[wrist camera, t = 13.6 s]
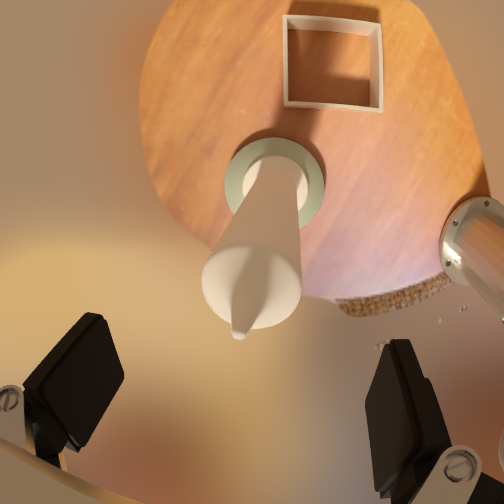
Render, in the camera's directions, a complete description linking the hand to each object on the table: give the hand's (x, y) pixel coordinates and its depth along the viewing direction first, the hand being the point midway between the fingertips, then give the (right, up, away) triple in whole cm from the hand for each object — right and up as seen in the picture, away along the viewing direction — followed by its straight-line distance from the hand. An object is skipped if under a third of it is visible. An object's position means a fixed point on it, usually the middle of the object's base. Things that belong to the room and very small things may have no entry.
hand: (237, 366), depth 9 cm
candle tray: (+9, +24, +19) cm, 31 cm away
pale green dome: (+3, +11, +25) cm, 27 cm away
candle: (+3, +11, +24) cm, 26 cm away
